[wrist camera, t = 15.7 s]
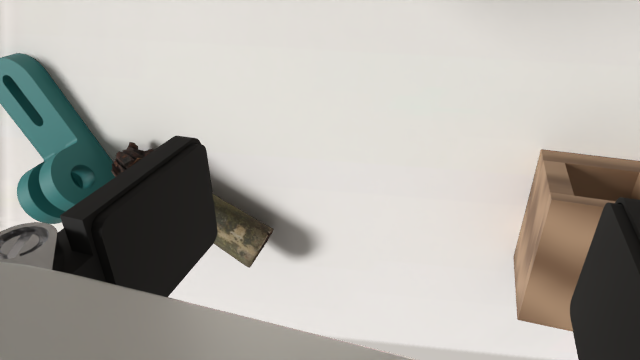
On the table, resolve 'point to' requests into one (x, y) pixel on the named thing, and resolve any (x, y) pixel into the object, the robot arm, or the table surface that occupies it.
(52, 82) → the bracket
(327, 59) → the table surface
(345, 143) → the table surface
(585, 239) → the walnut block
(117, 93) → the table surface
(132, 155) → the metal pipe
